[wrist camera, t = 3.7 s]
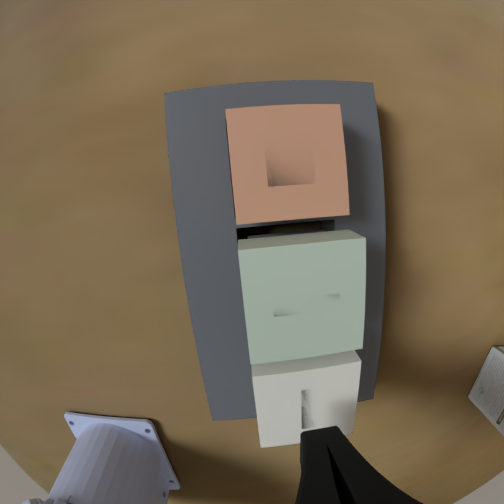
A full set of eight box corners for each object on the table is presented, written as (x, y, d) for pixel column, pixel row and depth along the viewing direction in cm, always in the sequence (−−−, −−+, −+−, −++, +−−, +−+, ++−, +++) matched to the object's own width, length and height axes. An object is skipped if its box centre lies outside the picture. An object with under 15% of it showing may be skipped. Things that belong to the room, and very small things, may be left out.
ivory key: (330, 380, 17) (352, 433, 12) (255, 390, 17) (260, 447, 12) (332, 314, 16) (361, 361, 11) (248, 325, 16) (252, 376, 11)
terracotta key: (320, 205, 16) (349, 215, 12) (237, 212, 16) (236, 224, 12) (313, 123, 15) (339, 104, 11) (229, 128, 15) (225, 109, 11)
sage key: (332, 304, 16) (362, 348, 11) (247, 314, 16) (250, 364, 11) (329, 220, 15) (365, 237, 10) (238, 228, 15) (237, 250, 10)
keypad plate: (361, 377, 19) (373, 398, 17) (215, 395, 19) (212, 420, 17) (355, 94, 15) (372, 82, 13) (174, 105, 15) (164, 93, 13)
